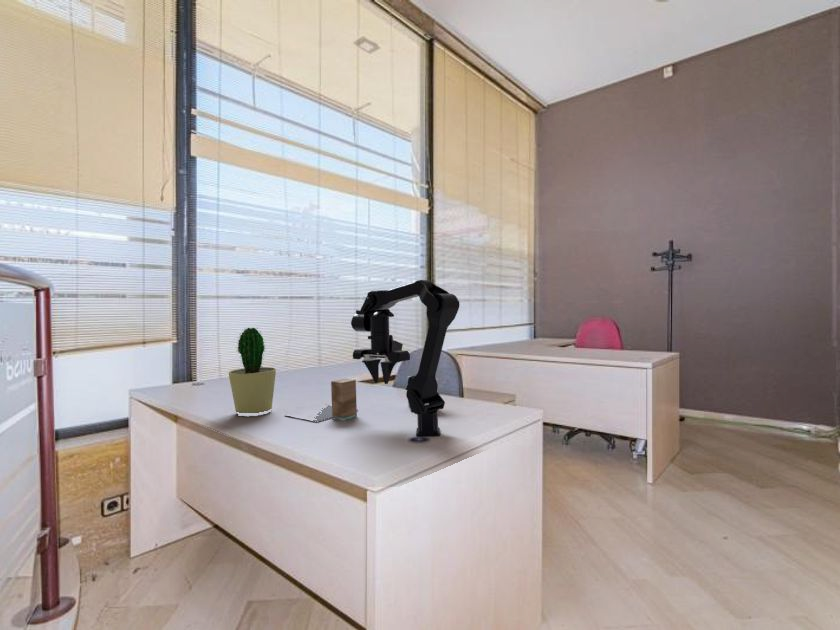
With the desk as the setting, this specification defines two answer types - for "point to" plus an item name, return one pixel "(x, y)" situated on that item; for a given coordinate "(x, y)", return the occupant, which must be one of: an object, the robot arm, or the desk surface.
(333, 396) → the walnut block
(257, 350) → the potted cactus
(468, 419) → the desk surface
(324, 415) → the grey thin slab
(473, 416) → the desk surface
